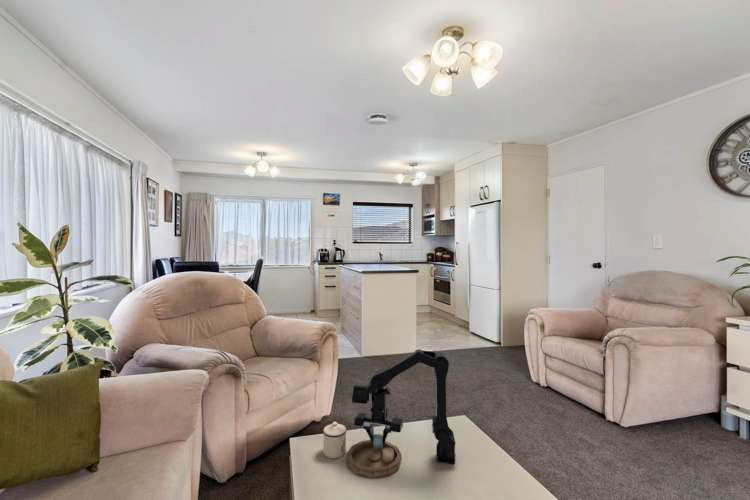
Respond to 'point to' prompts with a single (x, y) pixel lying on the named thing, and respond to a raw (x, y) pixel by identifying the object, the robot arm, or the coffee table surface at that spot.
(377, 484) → the coffee table surface
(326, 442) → the teacup with lid
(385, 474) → the ring tray
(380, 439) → the bead teal
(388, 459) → the bead terracotta
